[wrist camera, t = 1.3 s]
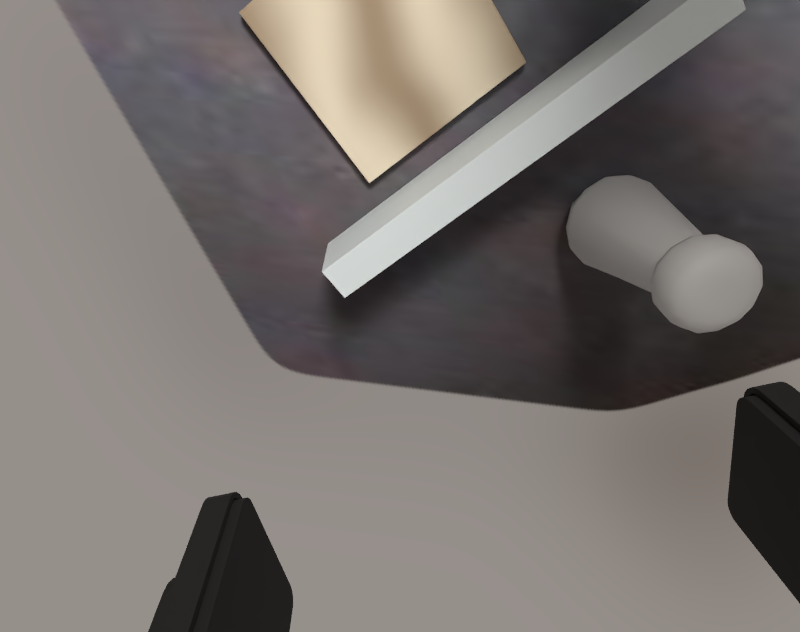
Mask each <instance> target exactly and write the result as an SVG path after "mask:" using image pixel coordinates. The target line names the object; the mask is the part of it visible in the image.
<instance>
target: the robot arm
mask: <svg viewBox="0 0 800 632" xmlns="http://www.w3.org/2000/svg"><path fill="white" fill-rule="evenodd" d="M728 507H729V510H730V513H731V515H732V517H733V519H734V520H735V522H736V523H737V524H738V526H739V527H740V528H741V530H742V531H743V532H744V533H745V535H746V536H747V537H748V538H749V540H750V541H751V542H752V543H753V545H754V546H755V547H756V549H757V550H758V551H759V552H760V553H761V555H762V556H763V557H764V559H765V560H766V561H767V562H768V564H769V565H770V566H771V567H772V569H773V570H774V571H775V572H776V574H777V575H778V576H779V578H780V579H781V580H782V581H783V583H784V584H785V585H786V586H787V588H788V589H789V590H790V591H791V593H792V594H793V595H794V596H795V598H796V599H797V600H798V601H799V603H800V392H798V391H797V390H796V389H795V388H793V387H792V386H790V385H789V384H787V383H784V382H777V383H772V384H767V385H762V386H757V387H752V388H749V389H747V390H746V392H745V394H744V397H743V398H740V399H739V400H738V402H737V408H736V419H735V429H734V439H733V450H732V460H731V471H730V482H729V492H728ZM292 608H293V595H292V589H291V586H290V583H289V581H288V579H287V577H286V575H285V573H284V571H283V568H282V566H281V564H280V562H279V560H278V558H277V555H276V553H275V551H274V549H273V547H272V545H271V543H270V541H269V538H268V536H267V534H266V532H265V530H264V528H263V525H262V523H261V521H260V519H259V517H258V514H257V512H256V510H255V508H254V506H253V504H252V502H251V500H250V499H249V498H243V499H242V497H241V495H240V494H238V493H237V492H233V493H229V494H224V495H219V496H214V497H209V498H207V499H206V500H205V501H204V503H203V505H202V508H201V510H200V513H199V516H198V518H197V521H196V524H195V526H194V529H193V532H192V535H191V537H190V540H189V543H188V545H187V548H186V551H185V553H184V556H183V559H182V561H181V564H180V567H179V570H178V572H177V575H176V578H173V579H172V580H171V581H170V582H169V583H168V584H167V586H166V589H165V590H164V592H163V595H162V597H161V600H160V602H159V605H158V608H157V610H156V613H155V616H154V618H153V621H152V623H151V626H150V629H149V631H148V632H289V629H290V623H291V615H292Z"/></svg>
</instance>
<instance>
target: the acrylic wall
mask: <svg viewBox="0 0 800 632" xmlns="http://www.w3.org/2000/svg"><path fill="white" fill-rule="evenodd" d="M745 10H746V8H745V5H744V2H743V0H650V1H649V2H647V3H646V4H645V5H643V6H642V7H641V8H639V9H638V10H637V11H635V12H634V13H633V14H631V15H630V16H629V17H628V18H626V19H625V20H624V21H622V22H621V23H620V24H618V25H617V26H616V27H614V28H613V29H612V30H610V31H609V32H608V33H606V34H605V35H604V36H602V37H601V38H600V39H598V40H597V41H596V42H594V43H593V44H592V45H590V46H589V47H588V48H586V49H585V50H584V51H582V52H581V53H580V54H578V55H577V56H576V57H575V58H573V59H572V60H571V61H569V62H568V63H567V64H565V65H564V66H563V67H561V68H560V69H559V70H557V71H556V72H555V73H553V74H552V75H551V76H549V77H548V78H547V79H545V80H544V81H543V82H541V83H540V84H539V85H537V86H536V87H535V88H533V89H532V90H531V91H529V92H528V93H527V94H525V95H524V96H523V97H521V98H520V99H519V100H518V101H516V102H515V103H514V104H512V105H511V106H510V107H508V108H507V109H506V110H504V111H503V112H502V113H500V114H499V115H498V116H496V117H495V118H494V119H492V120H491V121H490V122H488V123H487V124H486V125H484V126H483V127H482V128H480V129H479V130H478V131H476V132H475V133H474V134H472V135H471V136H470V137H468V138H467V139H466V140H465V141H463V142H462V143H461V144H459V145H458V146H457V147H455V148H454V149H453V150H451V151H450V152H449V153H447V154H446V155H445V156H443V157H442V158H441V159H439V160H438V161H437V162H435V163H434V164H433V165H431V166H430V167H429V168H427V169H426V170H425V171H423V172H422V173H421V174H419V175H418V176H417V177H415V178H414V179H413V180H411V181H410V182H409V183H408V184H406V185H405V186H404V187H402V188H401V189H400V190H398V191H397V192H396V193H394V194H393V195H392V196H390V197H389V198H388V199H386V200H385V201H384V202H382V203H381V204H380V205H378V206H377V207H376V208H374V209H373V210H372V211H370V212H369V213H368V214H366V215H365V216H364V217H362V218H361V219H360V220H358V221H357V222H356V223H355V224H353V225H352V226H351V227H349V228H348V229H347V230H345V231H344V232H343V233H341V234H340V235H339V236H337V237H336V238H335V239H333V240H332V241H331V242H329V243H328V246H327V250H326V255H325V260H324V264H323V269H322V273H323V274H324V275H325V276H326V277H327V278H328V279H329V281H330V282H331V283H332V284H333V285H334V286H335V287H336V289H337V290H338V291H339V292H340V293H341V294H342V295H343V297H344V298H345V297H347V296H348V295H350V294H351V293H352V292H354V291H355V290H357V289H358V288H359V287H361V286H362V285H364V284H365V283H366V282H368V281H369V280H371V279H372V278H373V277H375V276H376V275H377V274H379V273H380V272H382V271H383V270H384V269H386V268H387V267H389V266H390V265H391V264H393V263H394V262H396V261H397V260H398V259H400V258H401V257H403V256H404V255H405V254H407V253H408V252H409V251H411V250H412V249H414V248H415V247H416V246H418V245H419V244H421V243H422V242H423V241H425V240H426V239H428V238H429V237H430V236H432V235H433V234H435V233H436V232H437V231H439V230H440V229H442V228H443V227H444V226H446V225H447V224H448V223H450V222H451V221H453V220H454V219H455V218H457V217H458V216H460V215H461V214H462V213H464V212H465V211H467V210H468V209H469V208H471V207H472V206H474V205H475V204H476V203H478V202H479V201H480V200H482V199H483V198H485V197H486V196H487V195H489V194H490V193H492V192H493V191H494V190H496V189H497V188H499V187H500V186H501V185H503V184H504V183H506V182H507V181H508V180H510V179H511V178H512V177H514V176H515V175H517V174H518V173H519V172H521V171H522V170H524V169H525V168H526V167H528V166H529V165H531V164H532V163H533V162H535V161H536V160H538V159H539V158H540V157H542V156H543V155H545V154H546V153H547V152H549V151H550V150H551V149H553V148H554V147H556V146H557V145H558V144H560V143H561V142H563V141H564V140H565V139H567V138H568V137H570V136H571V135H572V134H574V133H575V132H577V131H578V130H579V129H581V128H582V127H583V126H585V125H586V124H588V123H589V122H590V121H592V120H593V119H595V118H596V117H597V116H599V115H600V114H602V113H603V112H604V111H606V110H607V109H609V108H610V107H611V106H613V105H614V104H615V103H617V102H618V101H620V100H621V99H622V98H624V97H625V96H627V95H628V94H629V93H631V92H632V91H634V90H635V89H636V88H638V87H639V86H641V85H642V84H643V83H645V82H646V81H647V80H649V79H650V78H652V77H653V76H654V75H656V74H657V73H659V72H660V71H661V70H663V69H664V68H666V67H667V66H668V65H670V64H671V63H673V62H674V61H675V60H677V59H678V58H680V57H681V56H682V55H684V54H685V53H686V52H688V51H689V50H691V49H692V48H693V47H695V46H696V45H698V44H699V43H700V42H702V41H703V40H705V39H706V38H707V37H709V36H710V35H712V34H713V33H714V32H716V31H717V30H718V29H720V28H721V27H723V26H724V25H725V24H727V23H728V22H730V21H731V20H732V19H734V18H735V17H737V16H738V15H739V14H741V13H742V12H744V11H745Z"/></svg>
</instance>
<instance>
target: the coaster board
mask: <svg viewBox="0 0 800 632" xmlns="http://www.w3.org/2000/svg"><path fill="white" fill-rule="evenodd" d="M239 13H240V14H241V16H242V17H243V18H244V20H245V21H246V22H247V24H248V25H249V26H250V28H251V29H252V30H253V32H254V33H255V34H256V35H257V37H258V38H259V39H260V41H261V42H262V43H263V45H264V46H265V47H266V49H267V50H268V51H269V52H270V54H271V55H272V56H273V58H274V59H275V60H276V62H277V63H278V64H279V66H280V67H281V68H282V69H283V71H284V72H285V73H286V75H287V76H288V77H289V79H290V80H291V81H292V83H293V84H294V85H295V87H296V88H297V89H298V90H299V92H300V93H301V94H302V96H303V97H304V98H305V100H306V101H307V102H308V104H309V105H310V106H311V107H312V109H313V110H314V111H315V113H316V114H317V115H318V117H319V118H320V119H321V121H322V122H323V123H324V125H325V126H326V127H327V128H328V130H329V131H330V132H331V134H332V135H333V136H334V138H335V139H336V140H337V142H338V143H339V144H340V145H341V147H342V148H343V149H344V151H345V152H346V153H347V155H348V156H349V157H350V159H351V160H352V161H353V162H354V164H355V165H356V166H357V168H358V169H359V170H360V172H361V173H362V174H363V176H364V177H365V178H366V180H367V181H368V182H369V183H370V182H372V181H373V180H374V179H376V178H377V177H378V176H379V175H381V174H382V173H383V172H385V171H386V170H387V169H389V168H390V167H391V166H392V165H394V164H395V163H396V162H398V161H399V160H400V159H402V158H403V157H404V156H405V155H407V154H408V153H409V152H411V151H412V150H413V149H414V148H416V147H417V146H418V145H420V144H421V143H422V142H424V141H425V140H426V139H427V138H429V137H430V136H431V135H433V134H434V133H435V132H437V131H438V130H439V129H440V128H442V127H443V126H444V125H446V124H447V123H448V122H450V121H451V120H452V119H453V118H455V117H456V116H457V115H459V114H460V113H461V112H463V111H464V110H465V109H466V108H468V107H469V106H470V105H472V104H473V103H474V102H476V101H477V100H478V99H479V98H481V97H482V96H483V95H485V94H486V93H487V92H489V91H490V90H491V89H492V88H494V87H495V86H496V85H498V84H499V83H500V82H502V81H503V80H504V79H505V78H507V77H508V76H509V75H511V74H512V73H513V72H515V71H516V70H517V69H518V68H520V67H521V66H522V65H524V64H525V63H526V61H525V59H524V57H523V55H522V53H521V52H520V50H519V48H518V46H517V45H516V43H515V41H514V39H513V37H512V36H511V34H510V32H509V30H508V28H507V27H506V25H505V23H504V21H503V20H502V18H501V16H500V14H499V12H498V11H497V9H496V7H495V5H494V3H493V2H492V0H252V1H251V2H250V3H249V4H248V5H247V6H246V7H245V8H244V9H243V10H242V11H240V12H239Z"/></svg>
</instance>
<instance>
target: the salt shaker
mask: <svg viewBox="0 0 800 632" xmlns="http://www.w3.org/2000/svg"><path fill="white" fill-rule="evenodd" d="M566 231H567V237H568V242H569V247H570V249H571V250H572V251H573V252H574V254H575V255H576V256H577V257H578V258H579V259H580V260H581V261H582V263H583V264H585V265H588V266H590V267H593V268H595V269H598V270H600V271H603V272H605V273H608V274H610V275H613V276H615V277H618V278H620V279H622V280H624V281H627V282H629V283H631V284H633V285H636V286H638V287H640V288H642V289H644V290H647V291H649V292H651V293H652V300H653V303H654V304H655V306H656V307H657V308H658V309H659V310H660V311H661V313H662V314H663V315H664V316H665V317H666V318H667V319H668V320H669V321H670V322H671V323H673V324H675V325H677V326H679V327H681V328H684V329H687V330H689V331H692V332H695V333H704V332H712V331H718V330H720V329H722V328H725V327H727V326H729V325H731V324H733V323H735V322H737V321H739V320H740V319H741V318H742V317H743V316H744V315H745V314H746V313H747V312H748V311H749V310H750V309H751V308H752V307H753V305H754V303H755V301H756V299H757V297H758V295H759V293H760V291H761V288H762V286H763V274H762V265H761V264H760V262H759V261H758V259H757V258H756V256H755V255H754V253H753V252H752V251H751V250H750V249H749V248H748V247H747V246H745V245H744V244H742V243H739V242H736V241H734V240H731V239H728V238H726V237H723V236H720V235H717V234H709V235H703V234H702V233H701V232H700V231H699V230H698V229H697V228H696V227H695V226H694V225H693V224H692V223H691V222H690V221H689V220H688V219H687V218H686V217H685V216H684V215H683V214H682V213H681V212H680V211H679V210H678V209H677V208H676V207H675V206H674V205H673V204H672V203H671V202H670V201H669V200H668V199H666V198H665V197H664V196H663V195H662V194H661V193H660V192H659V191H658V190H657V189H656V188H655V187H654V186H653V185H652V184H651V183H650V182H648V181H645V180H642V179H640V178H637V177H634V176H632V175H622V176H611V177H604V178H603V179H601V180H599V181H597V182H596V183H594V184H593V185H591V186H590V187H588V188H586V189H585V190H584V191H583V193H582V194H581V195H580V196H579V197H578V198H577V199H576V200H575V201H574V202H572V203H571V209H570V213H569V217H568V221H567V225H566Z"/></svg>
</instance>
